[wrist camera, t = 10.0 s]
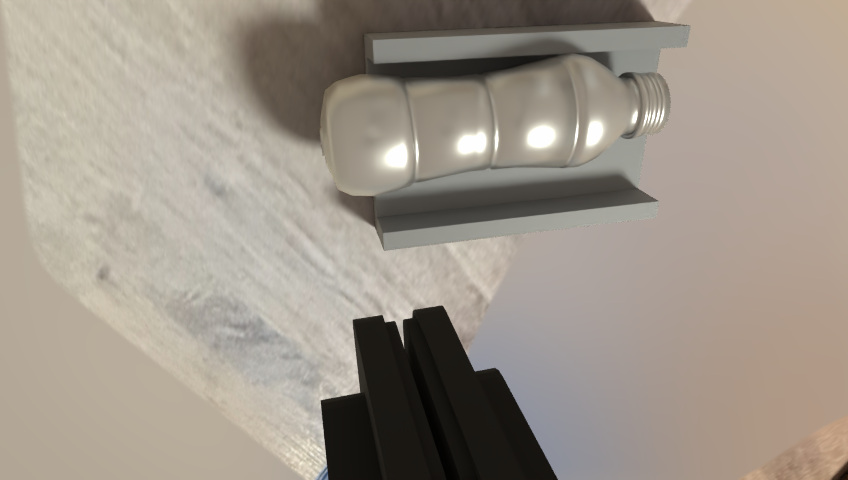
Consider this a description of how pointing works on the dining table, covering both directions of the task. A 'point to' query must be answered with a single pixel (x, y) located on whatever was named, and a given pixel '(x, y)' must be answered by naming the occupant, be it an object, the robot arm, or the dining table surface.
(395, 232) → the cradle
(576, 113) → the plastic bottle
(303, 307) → the dining table surface
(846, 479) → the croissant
